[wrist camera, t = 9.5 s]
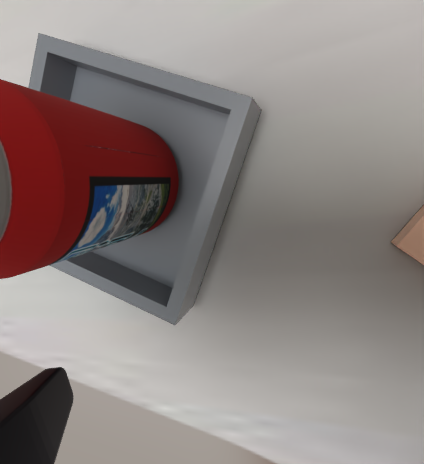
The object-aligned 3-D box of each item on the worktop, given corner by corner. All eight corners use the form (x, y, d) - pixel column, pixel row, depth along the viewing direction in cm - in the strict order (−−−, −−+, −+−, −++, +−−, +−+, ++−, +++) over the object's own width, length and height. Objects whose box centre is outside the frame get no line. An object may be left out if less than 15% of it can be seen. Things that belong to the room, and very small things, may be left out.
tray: (261, 110, 19) (252, 97, 16) (193, 305, 22) (175, 325, 19) (75, 52, 21) (38, 32, 19) (37, 234, 24) (0, 242, 22)
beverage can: (109, 247, 22) (-102, 319, 11) (72, 149, 22) (-186, 118, 10) (200, 213, 20) (57, 257, 9) (160, 104, 20) (-42, 5, 8)
